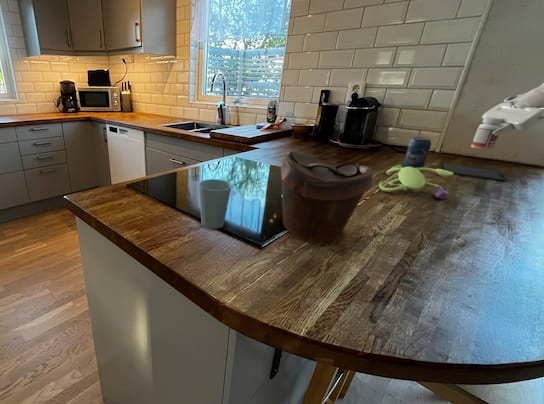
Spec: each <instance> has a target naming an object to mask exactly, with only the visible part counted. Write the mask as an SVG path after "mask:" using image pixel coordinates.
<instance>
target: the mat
mask: <svg viewBox="0 0 544 404" xmlns="http://www.w3.org/2000/svg"><path fill="white" fill-rule="evenodd" d="M443 167H444V170H446V171H449V172H453V173H454V174H453V175H457V176H462V177H463V176H464V177H472V178H476V179H477V178H478V179H485V180H492V181H499V182H504V181H505V179H504V178H503V177H502V176H501V175H500V174H499V173H498V171H497V170H493V169H486V168H478V167H472V166H466V165H465V166H464V165H456V164H451V163H443Z"/></svg>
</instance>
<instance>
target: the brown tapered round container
mask: <svg viewBox="0 0 544 404" xmlns="http://www.w3.org/2000/svg"><path fill="white" fill-rule="evenodd" d="M279 177H280V179H281V193H282V194H281V198H282V199H281V200H282V223H283V227H284V228H285V229H286V230H287V231H288V232H289V233H291V234H292V235H295V236H296V237H299V238H301V239H303V240H304V239H305V240H307V241H311V242H330V241H331V242H332V241H335V240H337V239H339V238H340V237H341V235H342V233H343V231H344V229H345V228H346V226H347V224H348V223H349V220H350V219H351V217H352V215H353V214H354V212H355V210H356V208H357V206H358V205H359V203H360V201H361V199H362V198H363V196H364V194H365V192H368V190H370V189H371V188H372V187H373V185H374V183H373V182H374V181H373V170H372V168H371V167H369V166H366V165H360V164H359V163H358V162H356V161H346V162H344V163H338V162H333V161H327V160H323V159H320V158H317V157H314V156H309V155H306V154H303V153H300V152H296V151H291V150H290V151H287V153H285V156H284V158H283V162H282V164H281V167H280V176H279Z"/></svg>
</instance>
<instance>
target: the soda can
mask: <svg viewBox="0 0 544 404" xmlns="http://www.w3.org/2000/svg"><path fill="white" fill-rule="evenodd" d="M431 146H432V138H429V137H423V136H413V137H412V139H411V140H410V141H409V144H408V147H407V150H406V153H405V156H404V159H403V162H402V164H403V168H405V167H413V168H424V167H425V164H426V161H427V158H428V155H429V153H430V149H431Z"/></svg>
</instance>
